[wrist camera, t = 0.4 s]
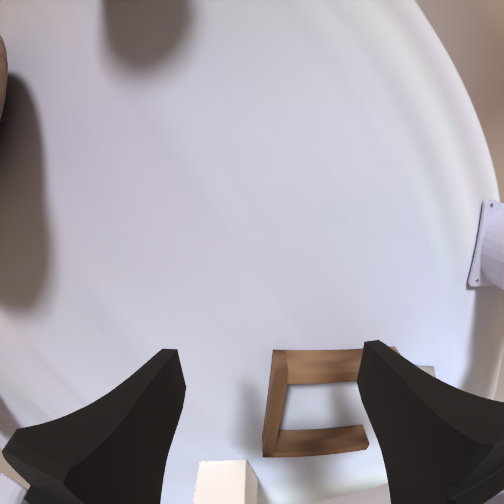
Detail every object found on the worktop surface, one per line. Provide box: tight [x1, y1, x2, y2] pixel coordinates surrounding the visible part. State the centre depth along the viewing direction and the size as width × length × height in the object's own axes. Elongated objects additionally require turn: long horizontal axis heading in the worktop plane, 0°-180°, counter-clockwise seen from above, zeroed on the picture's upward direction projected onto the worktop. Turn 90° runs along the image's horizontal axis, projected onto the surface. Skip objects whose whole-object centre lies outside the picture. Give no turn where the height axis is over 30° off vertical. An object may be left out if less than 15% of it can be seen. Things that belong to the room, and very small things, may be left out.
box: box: [262, 347, 400, 457], centre depth 22 cm, size 11×12×3 cm
